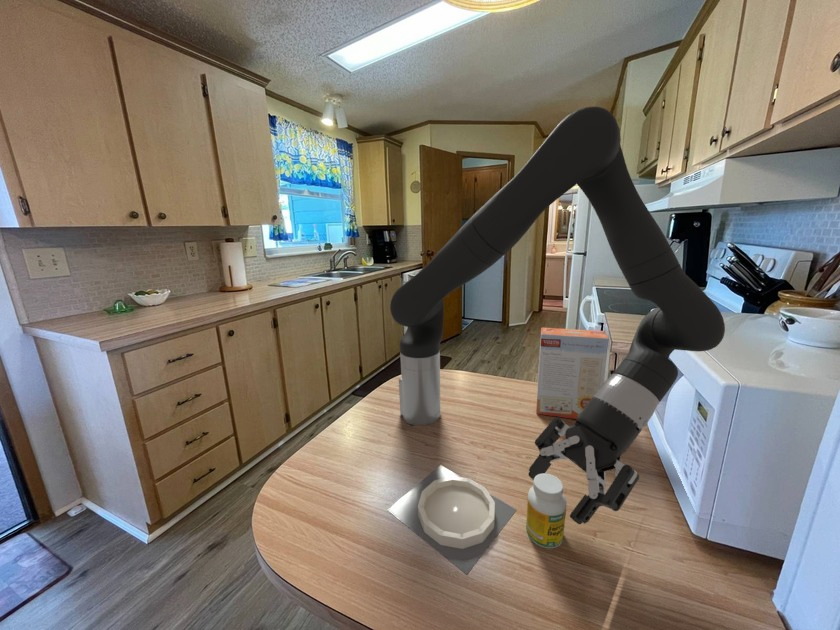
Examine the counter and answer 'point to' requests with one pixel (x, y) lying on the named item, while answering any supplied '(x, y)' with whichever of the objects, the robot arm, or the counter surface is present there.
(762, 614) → the counter surface
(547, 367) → the cracker box
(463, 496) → the bowl
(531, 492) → the supplement bottle
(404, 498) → the slate board
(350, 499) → the counter surface
